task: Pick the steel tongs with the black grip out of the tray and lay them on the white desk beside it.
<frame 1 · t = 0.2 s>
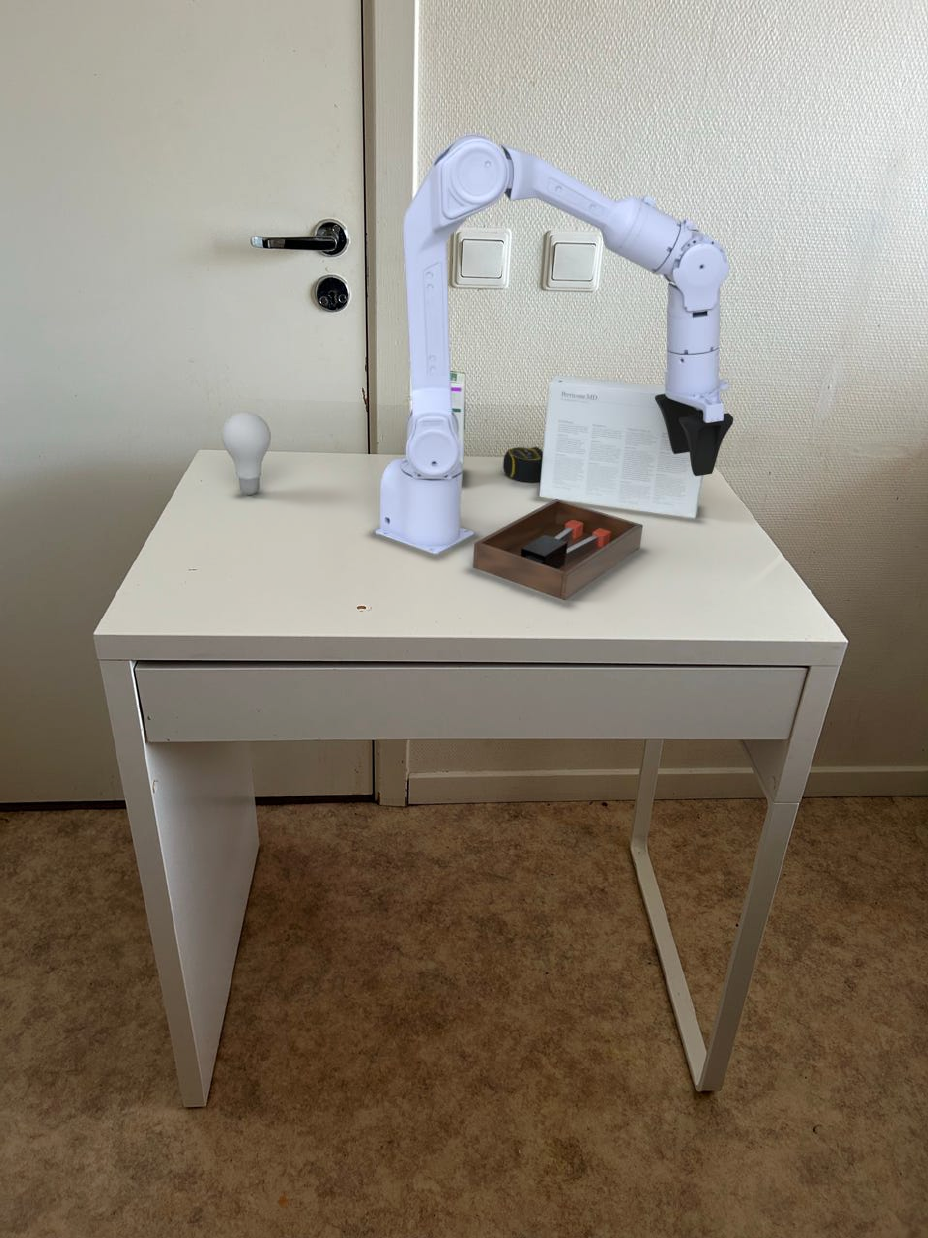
hand: (691, 462, 113), 11 cm above the table, tool pointing down, fingers open, 7 cm apart
syrup box: (441, 479, 134), on the table
lightbulb: (250, 495, 126), on the table
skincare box: (617, 504, 129), on the table
tray: (558, 560, 112), on the table
tongs: (558, 556, 112), resting on tray
tape measure: (530, 478, 136), on the table
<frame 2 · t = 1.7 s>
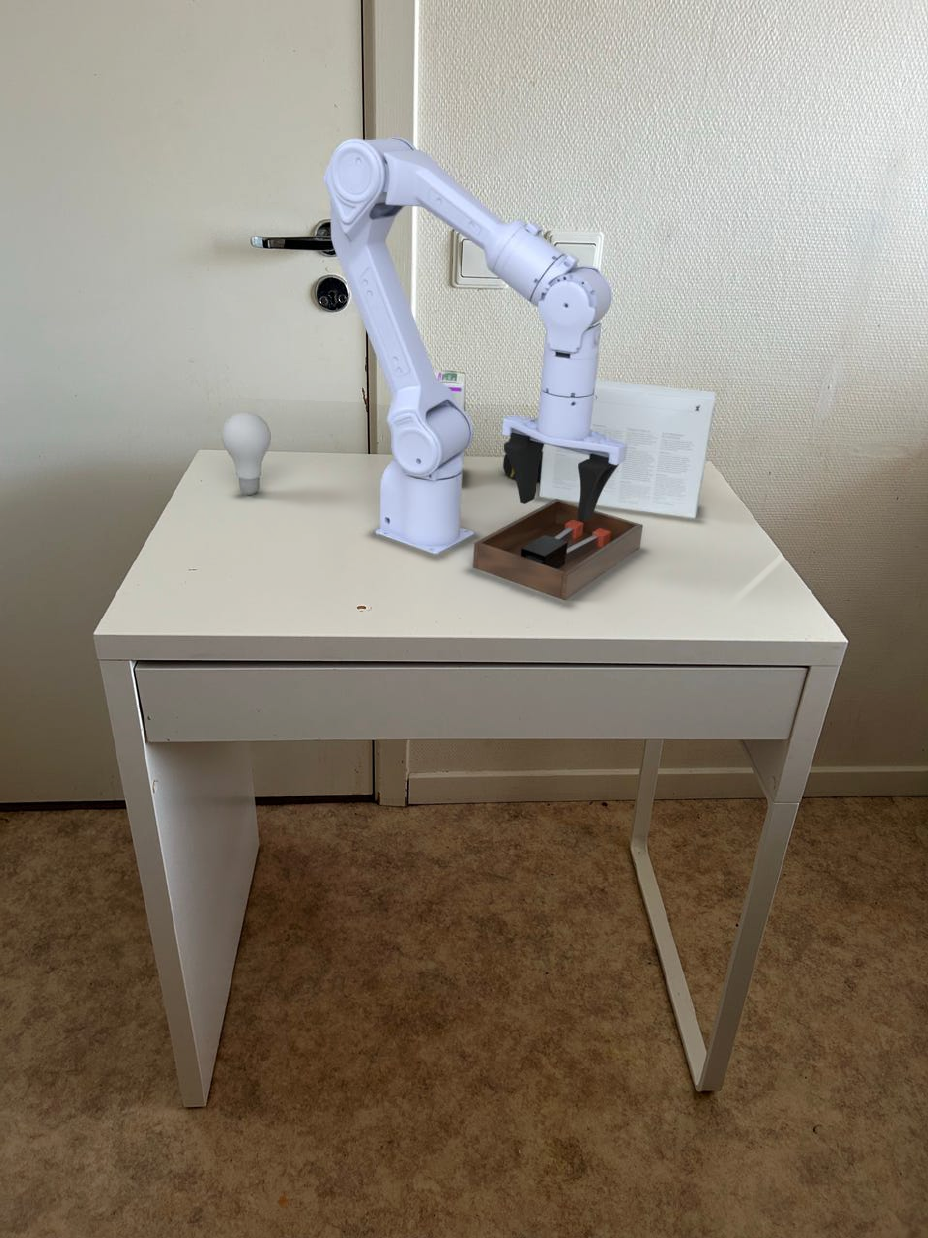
hand: (555, 509, 107), 7 cm above the table, tool pointing down, fingers open, 7 cm apart
nothing on the table moved.
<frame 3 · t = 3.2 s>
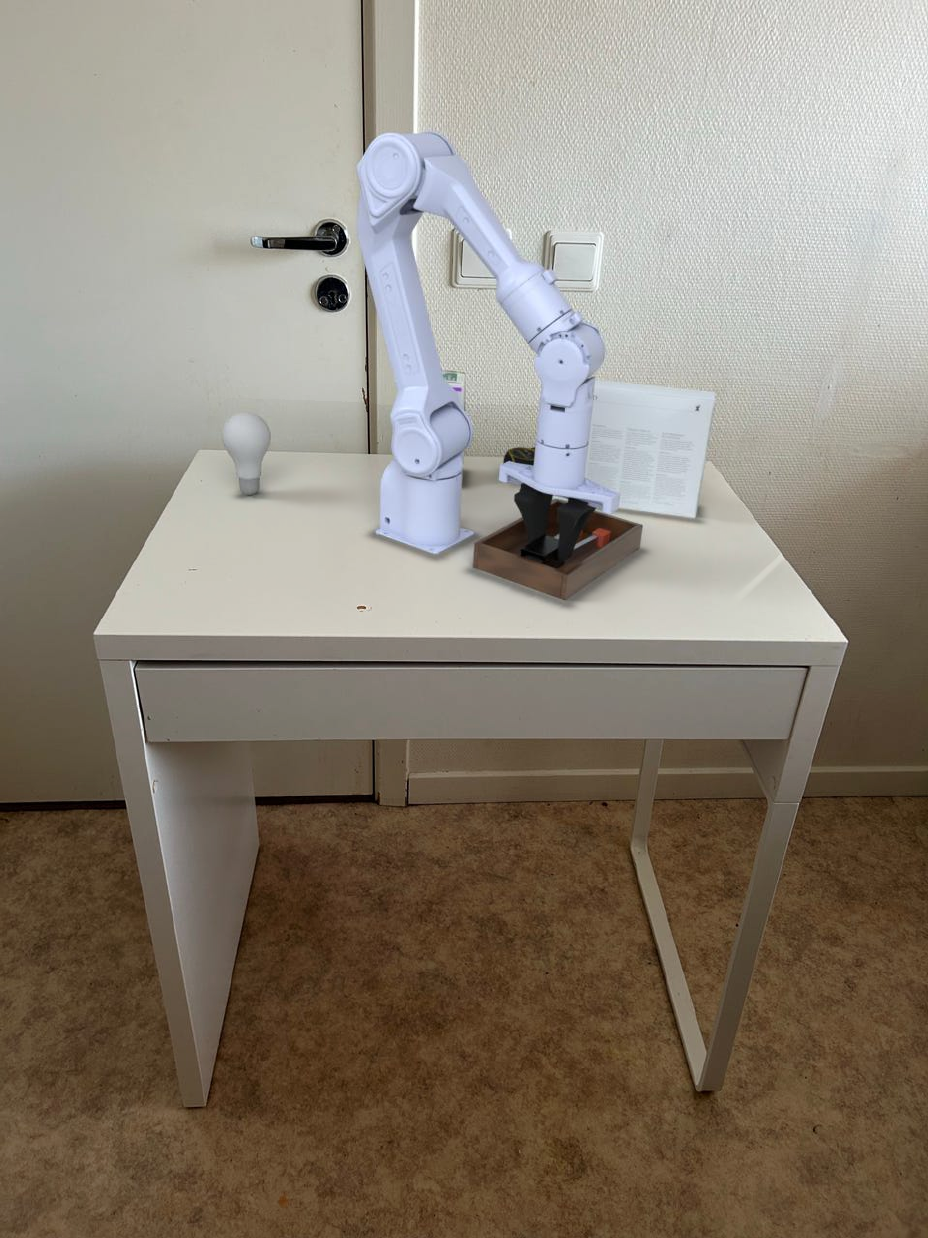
hand: (550, 553, 110), 2 cm above the table, tool pointing down, fingers closed on tongs, 3 cm apart
tongs: (558, 556, 112), resting on tray, touching gripper
everything else where it was.
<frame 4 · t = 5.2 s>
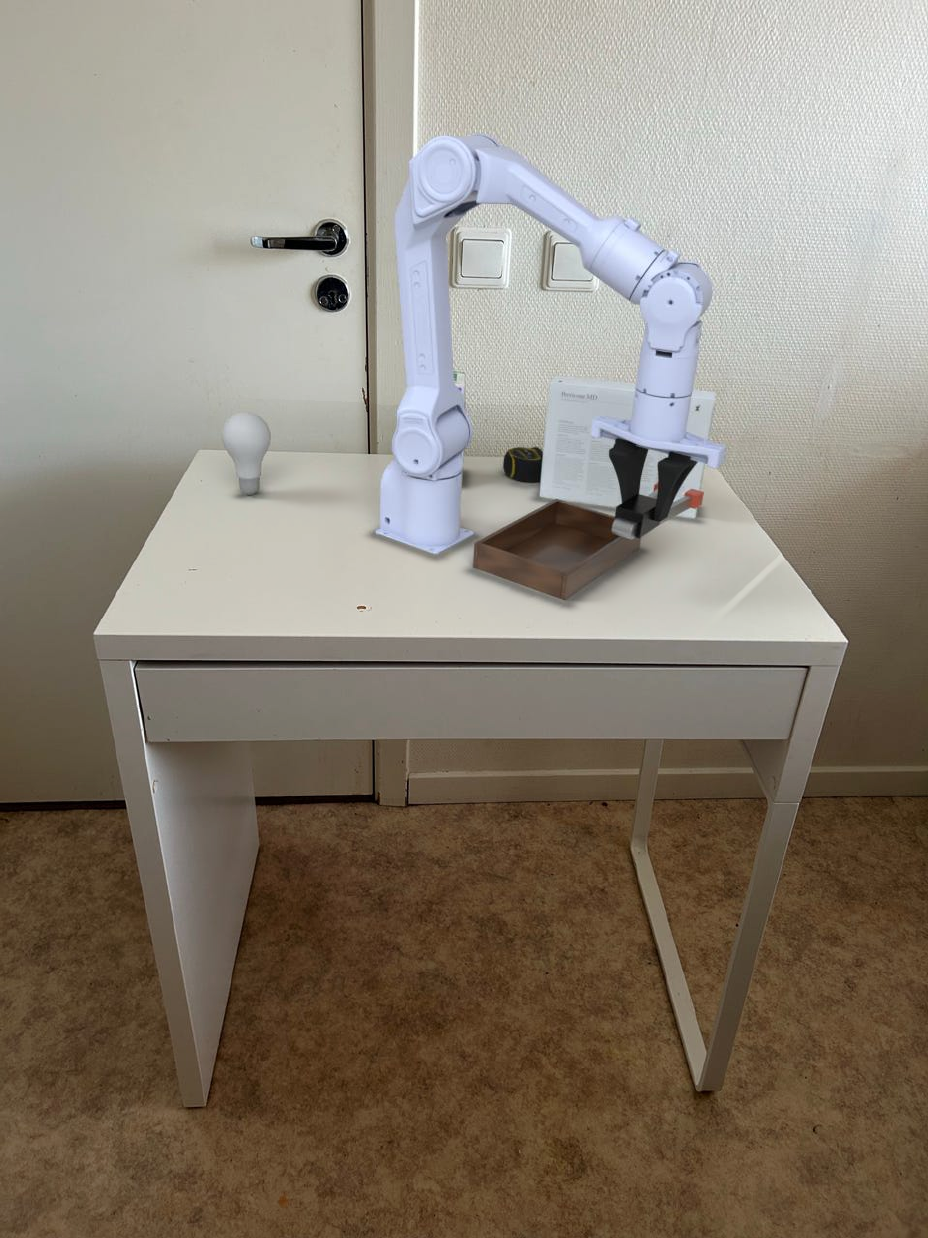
hand: (645, 514, 104), 9 cm above the table, tool pointing down, fingers closed on tongs, 3 cm apart
tongs: (651, 517, 106), point 8 cm above the table, touching gripper
everything else where it was.
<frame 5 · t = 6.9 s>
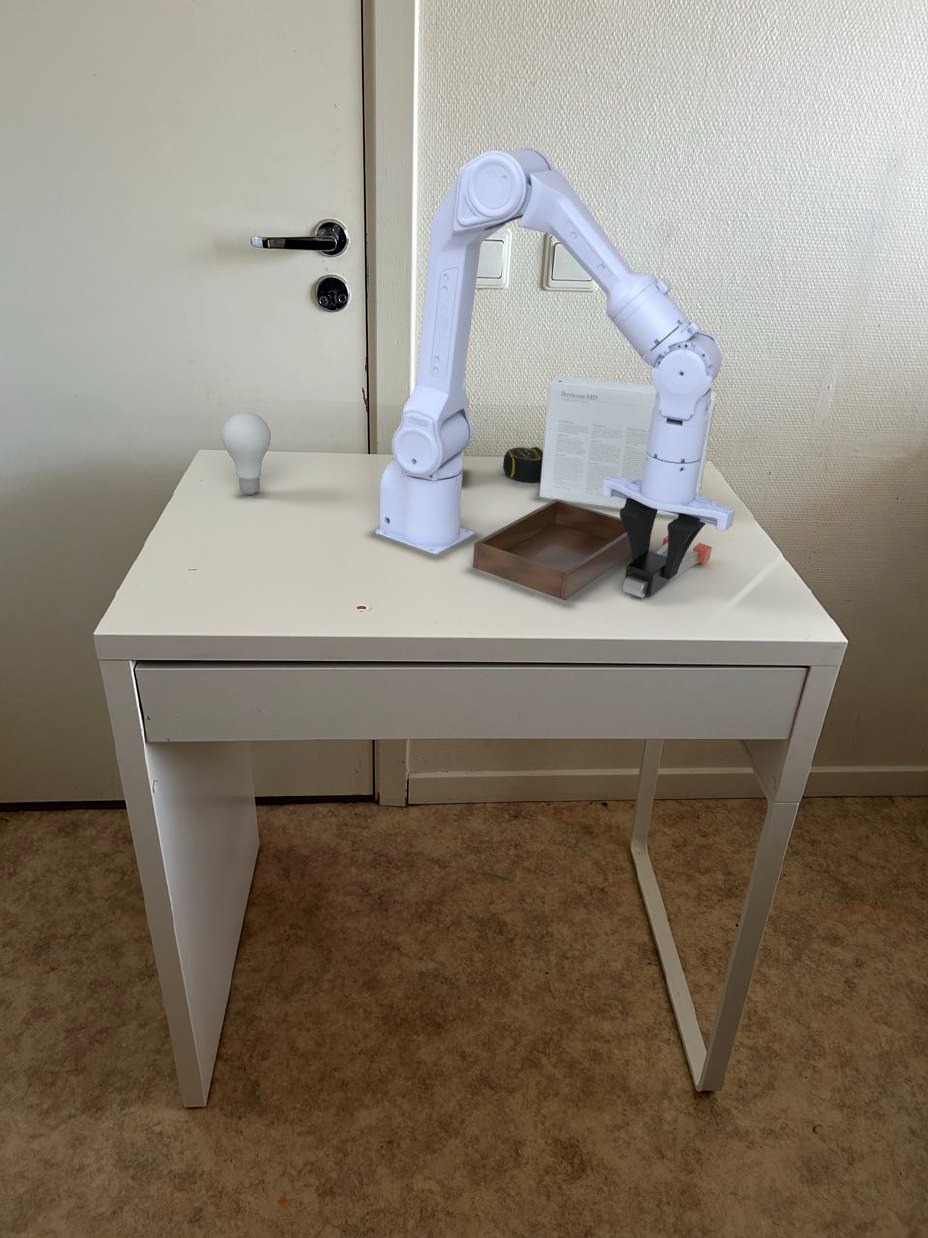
hand: (654, 570, 106), 2 cm above the table, tool pointing down, fingers closed on tongs, 3 cm apart
tongs: (661, 573, 108), point 1 cm above the table, touching gripper
everything else where it was.
when the fingers open (1 cm above the table, at t = 7.6 s): tongs stays where it is, on the table.
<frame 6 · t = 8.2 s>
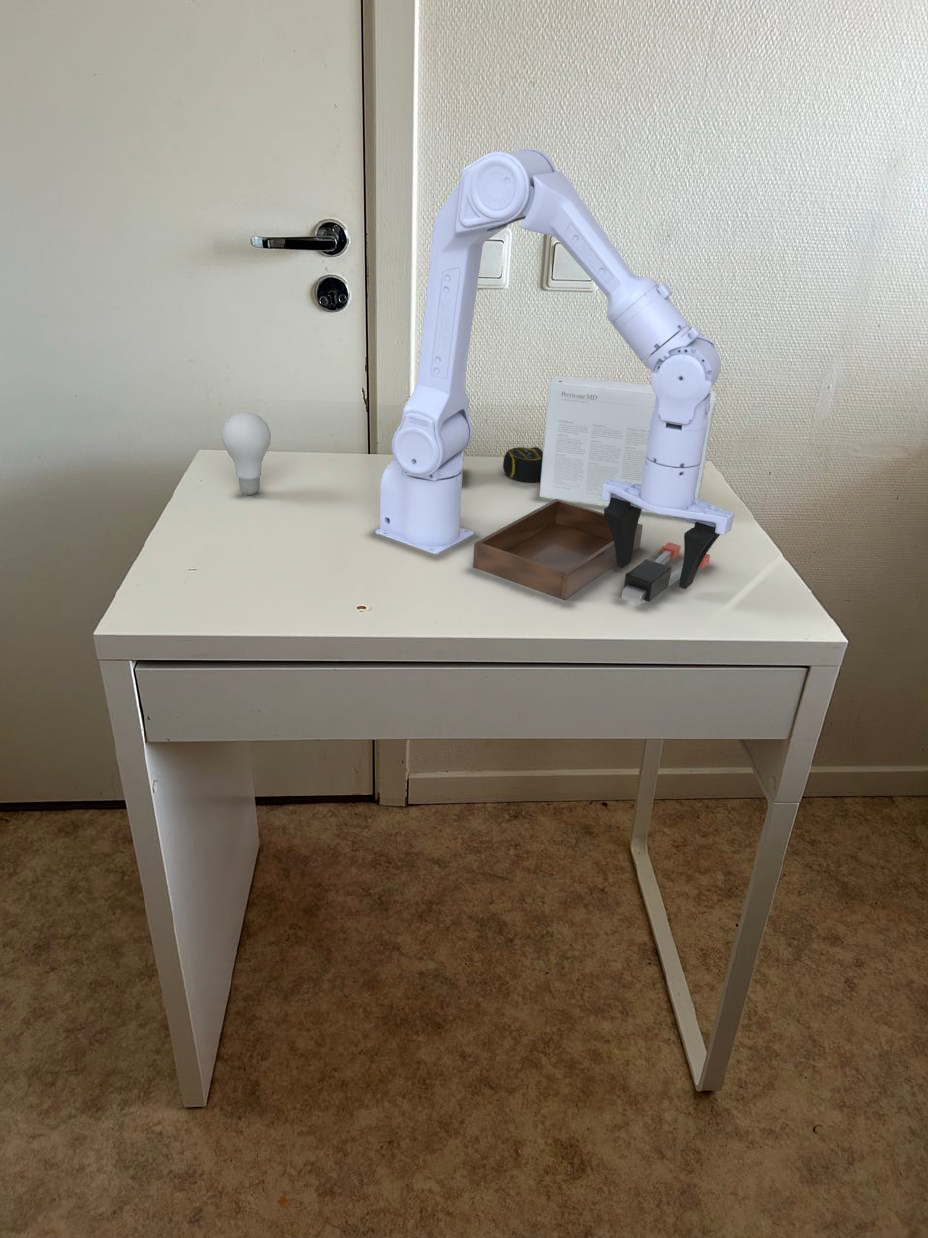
hand: (654, 574, 106), 2 cm above the table, tool pointing down, fingers open, 7 cm apart
tongs: (659, 581, 109), on the table
everything else where it was.
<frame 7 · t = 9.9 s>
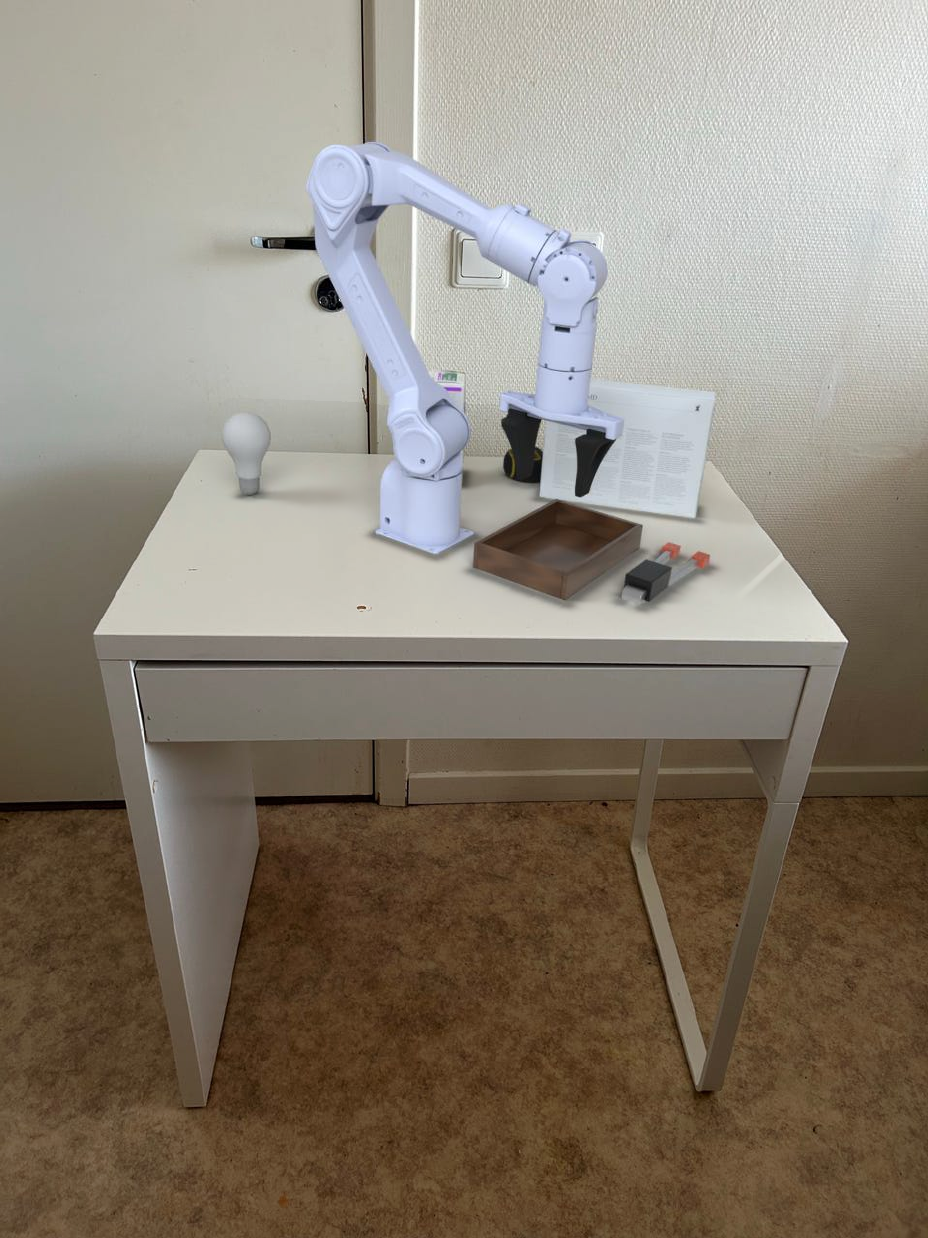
hand: (552, 485, 108), 9 cm above the table, tool pointing down, fingers open, 7 cm apart
nothing on the table moved.
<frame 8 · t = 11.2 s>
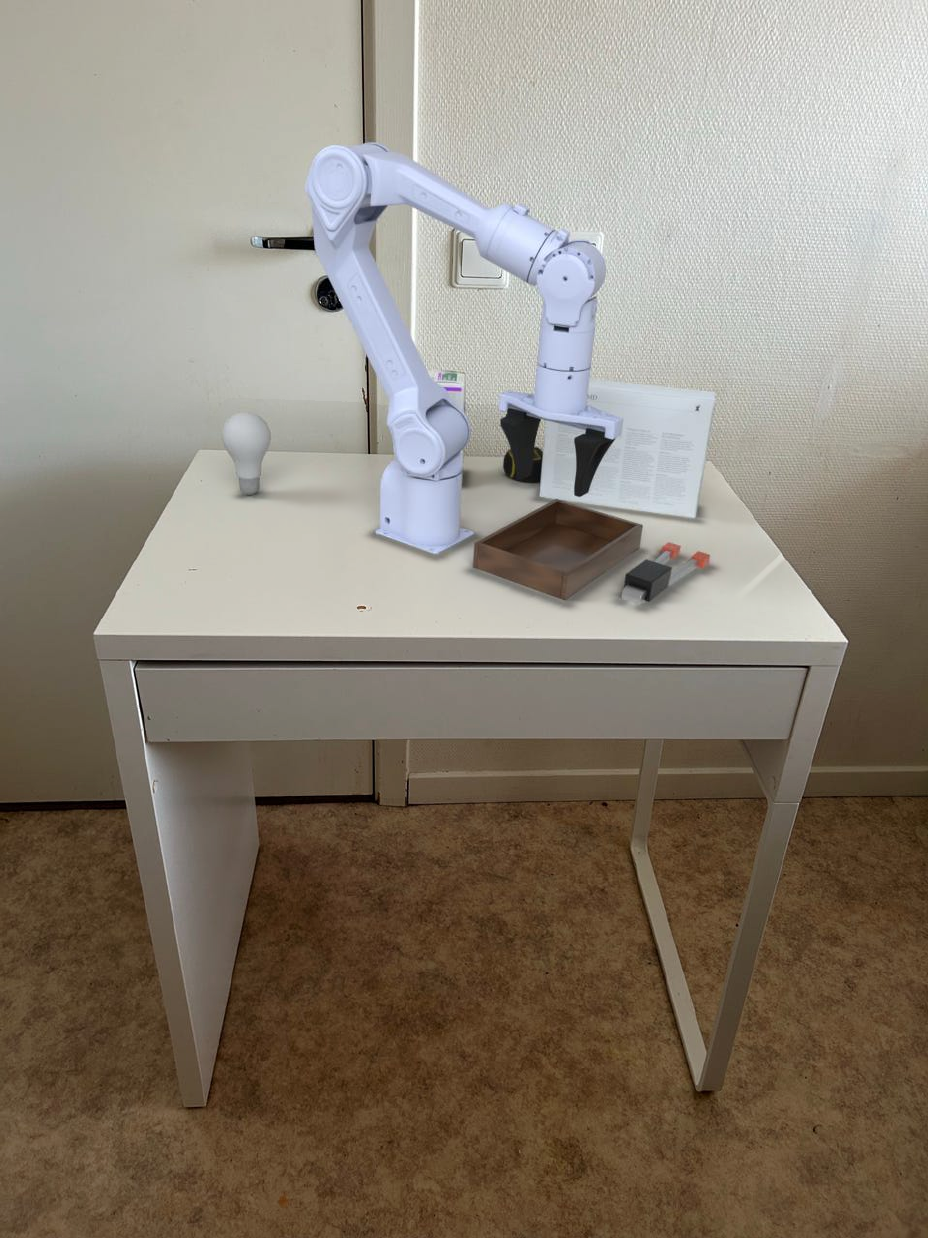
hand: (551, 485, 108), 9 cm above the table, tool pointing down, fingers open, 7 cm apart
nothing on the table moved.
at the end: tongs touching table; tongs inside the target area (0.0 cm from its centre), on the table; the gripper is holding nothing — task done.
